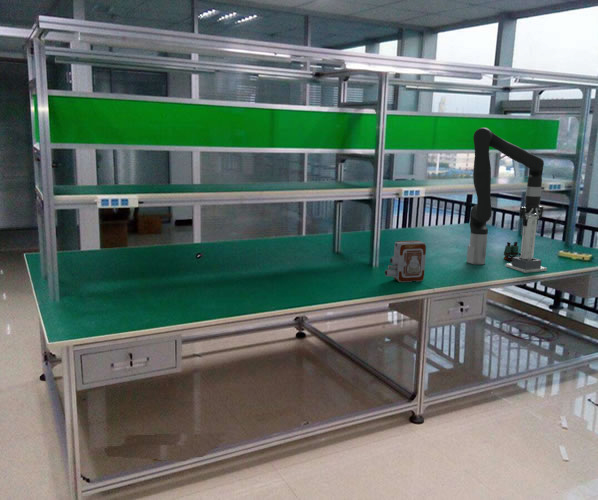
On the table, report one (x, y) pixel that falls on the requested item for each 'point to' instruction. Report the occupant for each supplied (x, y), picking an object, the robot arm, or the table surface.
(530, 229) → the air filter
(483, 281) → the table surface
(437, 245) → the table surface
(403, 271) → the cine camera
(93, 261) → the table surface
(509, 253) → the binoculars
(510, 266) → the mount
